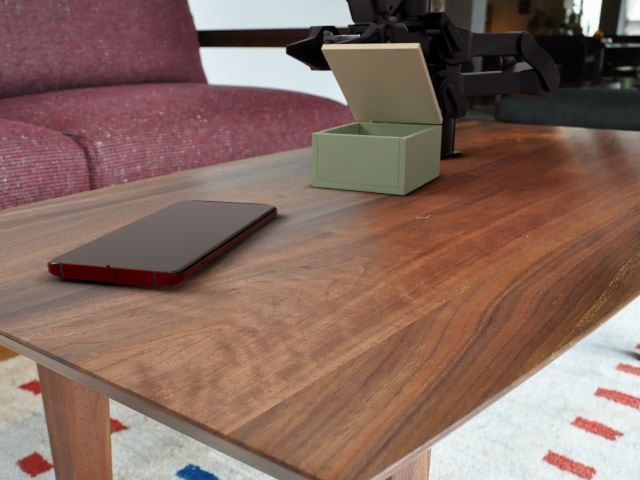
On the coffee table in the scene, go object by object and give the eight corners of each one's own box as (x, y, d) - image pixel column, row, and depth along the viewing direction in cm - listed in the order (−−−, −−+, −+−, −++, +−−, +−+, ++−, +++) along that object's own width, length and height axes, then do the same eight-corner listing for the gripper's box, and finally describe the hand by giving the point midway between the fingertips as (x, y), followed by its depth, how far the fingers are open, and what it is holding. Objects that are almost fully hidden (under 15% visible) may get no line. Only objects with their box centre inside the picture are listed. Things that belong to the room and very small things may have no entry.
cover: (417, 48, 77) (419, 42, 78) (321, 49, 83) (323, 44, 83) (441, 124, 90) (442, 119, 90) (355, 120, 95) (357, 116, 95)
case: (404, 195, 81) (406, 138, 79) (312, 186, 87) (311, 133, 84) (439, 176, 92) (442, 125, 90) (356, 169, 98) (356, 121, 96)
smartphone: (282, 203, 73) (177, 273, 50) (282, 217, 73) (178, 292, 51) (179, 197, 76) (38, 261, 53) (180, 211, 76) (40, 279, 54)
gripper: (351, -10, 101) (265, -12, 93) (443, -19, 87) (351, -23, 79) (351, 68, 105) (268, 72, 97) (439, 71, 91) (351, 76, 83)
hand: (306, 50), depth 89 cm, fingers open, 9 cm apart
